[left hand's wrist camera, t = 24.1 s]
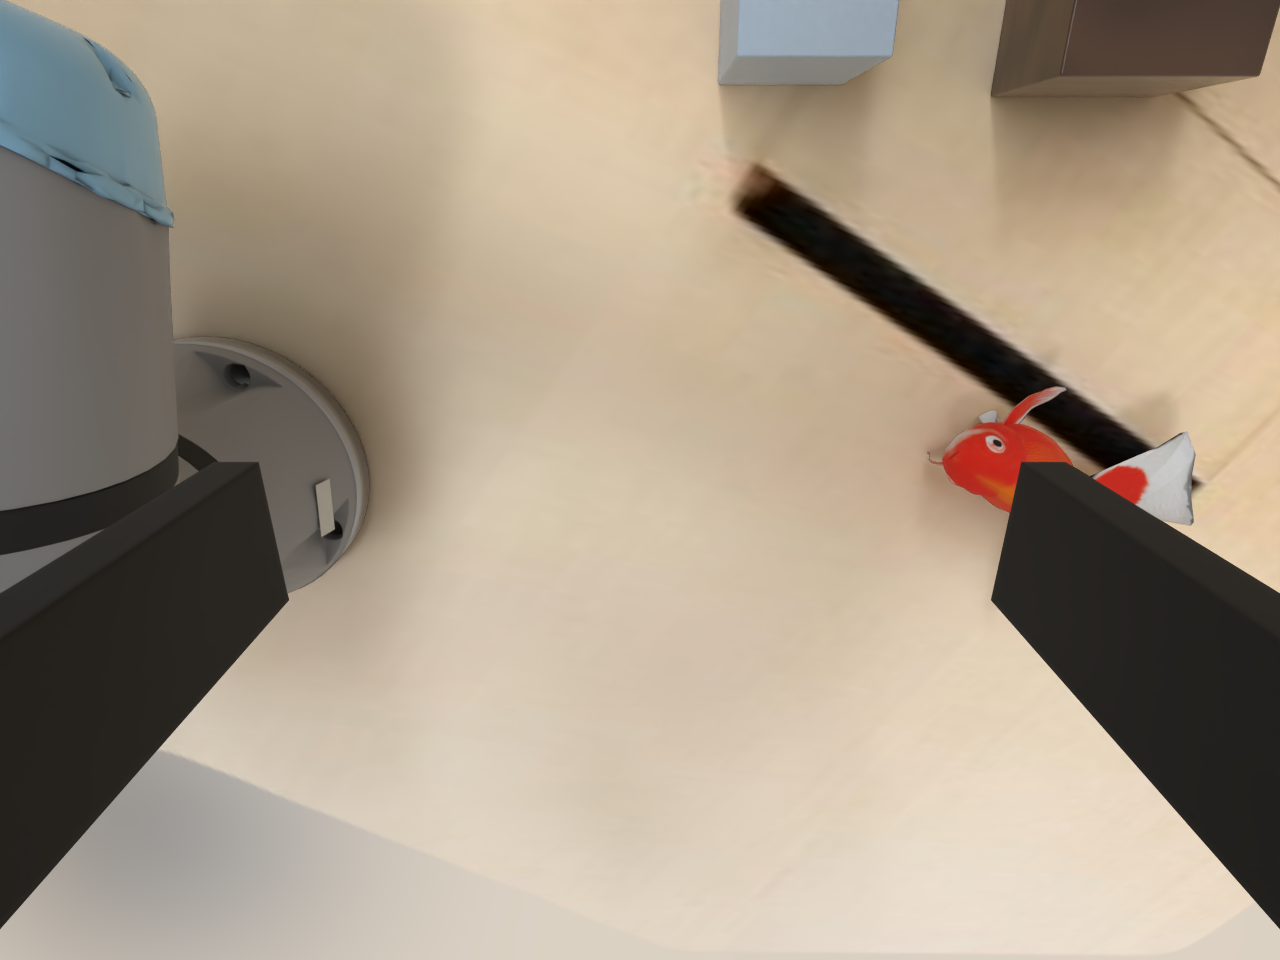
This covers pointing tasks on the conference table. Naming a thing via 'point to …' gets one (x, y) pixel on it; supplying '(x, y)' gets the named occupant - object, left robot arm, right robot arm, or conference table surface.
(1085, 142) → the conference table surface
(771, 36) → the cap block
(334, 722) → the conference table surface
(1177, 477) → the fish
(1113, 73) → the walnut base
